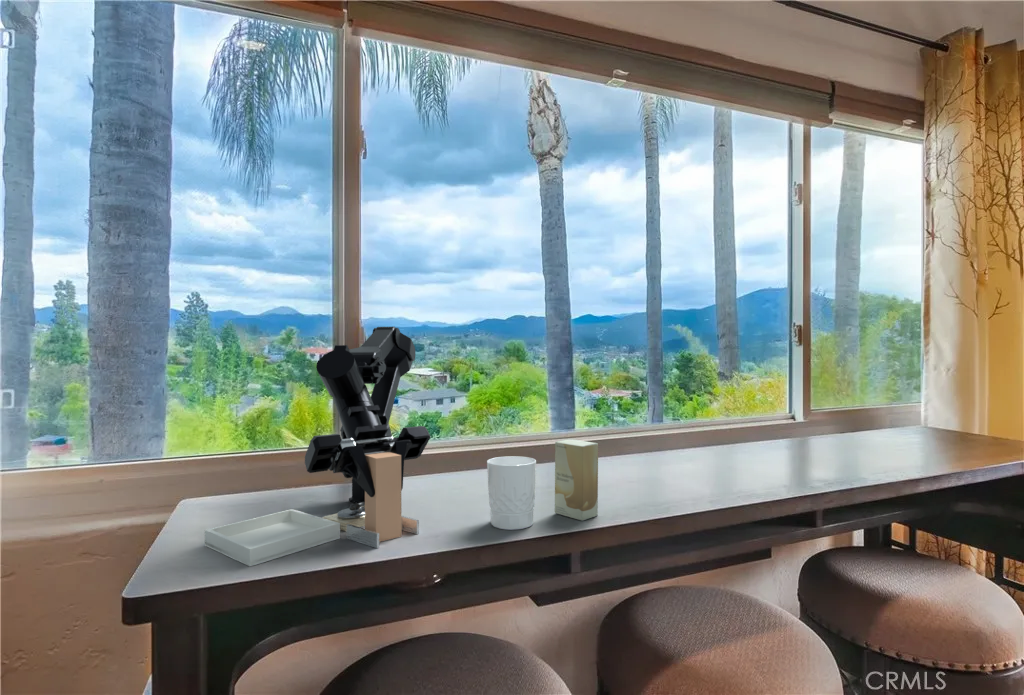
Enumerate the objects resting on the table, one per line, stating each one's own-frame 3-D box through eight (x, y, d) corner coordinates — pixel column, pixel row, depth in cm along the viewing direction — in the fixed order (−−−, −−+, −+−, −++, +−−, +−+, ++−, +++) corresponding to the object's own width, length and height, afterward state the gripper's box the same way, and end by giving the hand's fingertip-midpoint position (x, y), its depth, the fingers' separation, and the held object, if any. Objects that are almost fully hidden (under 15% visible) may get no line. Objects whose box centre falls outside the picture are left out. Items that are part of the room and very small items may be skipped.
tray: (291, 522, 85) (291, 508, 85) (340, 538, 77) (340, 523, 77) (204, 545, 74) (204, 530, 75) (250, 566, 66) (250, 549, 67)
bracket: (359, 514, 89) (359, 494, 89) (424, 531, 80) (424, 509, 80) (312, 527, 82) (312, 506, 82) (376, 548, 73) (376, 524, 73)
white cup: (547, 523, 83) (546, 460, 83) (511, 535, 78) (510, 467, 78) (512, 513, 89) (512, 454, 89) (477, 523, 83) (476, 460, 84)
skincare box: (553, 513, 88) (552, 441, 89) (570, 508, 91) (569, 438, 92) (584, 521, 84) (582, 445, 84) (600, 516, 87) (599, 442, 87)
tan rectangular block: (364, 535, 78) (364, 454, 78) (389, 530, 81) (389, 451, 81) (376, 542, 75) (375, 458, 75) (401, 536, 77) (401, 455, 78)
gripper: (394, 438, 96) (424, 512, 87) (287, 450, 84) (309, 536, 75) (414, 397, 90) (449, 471, 81) (303, 403, 78) (329, 491, 69)
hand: (387, 493), depth 77 cm, fingers closed on tan rectangular block, 4 cm apart
